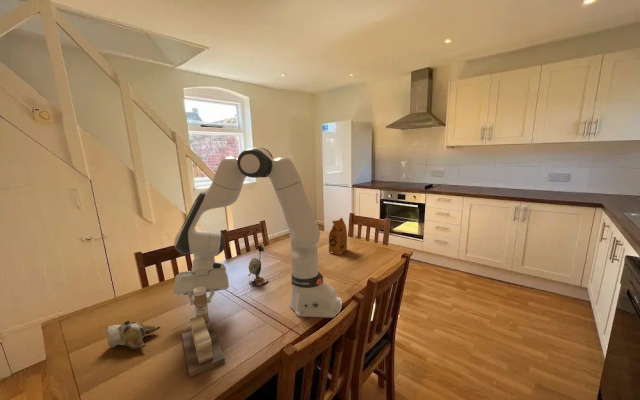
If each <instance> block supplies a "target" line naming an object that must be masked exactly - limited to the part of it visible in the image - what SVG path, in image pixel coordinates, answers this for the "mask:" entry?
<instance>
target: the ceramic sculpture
mask: <svg viewBox="0 0 640 400" xmlns="http://www.w3.org/2000/svg"><path fill="white" fill-rule="evenodd" d="M160 328H161V326H154V325H151V324H143V323H142V322H140V321H138V322H137V321H132V322H131V321H130V320H127V321H124V322H123V323H121V324H112V325H107V326H106V327H105V330H106V332H105V333H106V338H107V343H108V346H109V347H110V348H111V349H112V348H116V347H118V346H126V347H128V348H129V349H130V350H131V349H132V350H139V349H142V348H144V347H147V345H146V343H145V342H144V340H143V339H144V337H145V336H146V335H150V334H153V333H154V332H156V331H158V330H159V329H160Z"/></svg>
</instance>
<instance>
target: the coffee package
mask: <svg viewBox="0 0 640 400" xmlns="http://www.w3.org/2000/svg"><path fill="white" fill-rule="evenodd" d="M331 224H333V225H332V227H331V230H330V231H329V232H328V233H329V234H328V252H329V253H330V252H333V253H335V254H334V255H337V254H339V253H341V252H344V251H345V250H346V249H347V250H348V231H347V230H348V229H347V226H346V223H345V221H344V219H343V217H340V218H339V219H337V220H332V223H331ZM347 250H346V251H347ZM346 251H345V252H346ZM345 252H344V253H345ZM333 253H332V254H333ZM341 254H342V253H341Z"/></svg>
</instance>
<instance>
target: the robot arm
mask: <svg viewBox="0 0 640 400" xmlns="http://www.w3.org/2000/svg"><path fill="white" fill-rule="evenodd" d="M247 177H248V178H255V179H256V178H268V179H269V180H270V182H271V184H272V186H273V187H272V188H273V189H274V192H275V194H276V197H277V199H278V203H279V205H280V208H281V210H282V214H283V216H284V219H285V221H286V225H287V227H288V231H289V234H290V235H289V238H290V250H291V252H290V253H291V269H292V271H291V287H292V289H291V290H292V291H291V297H290V301H289V307H290V308H291V310H292V311H294V312H295V313H294V314H295V315H296V316H297V317H303V318H305V317H307V318H331V319H332V318H335V317H337V316H338V315H339V313H340V312H341V310H342V307H343V301H342V298H341V297H339V296H338V295H337V290H335V289H336V288H334V287H332V286H331V285H330V283H329V284H328V283H327V282H326V281H325V280H324V276H325V275H324V272H323V273H320V271H319V253H318V246H317V244H318V243H319V242H320V237H321V232H320V231H321V230H320V228H319V224H318V222H317V220H316V217H315V214H314V212H313V209H312V206H311V204H310V202H309V199H308V197H307V192H306V191H305V187H304V186H303V182H302V179H301V177H300V175H299V172H298V170H297V167H295V164H294V162H293V160H292V159H290V158H289V157H284V156H281V157H277V158H276V157H275V158H274V157H273V154H272V153H271V152H270V151H269V150H268V149H266V148H264V147H259V146H257V147H256V146H254V147H249V148H245V149H244V150H242V151H241V152H240V153H239V155H238V157H235V156H226V157H223V158H222V159H221V160H220V162H219V164H218V166H217V167H216V171H215V173H214V176H213V179H212V182H211V185H209V187H208V188H207V189H206V190H204V191H202V192H200V193H198V195H197V196H196V199H195V200H194V202H193V204H192V206H191V208H190V209H189V211H188V213H187V216H186V218H185V220H184V222H183V224H182V225H181V227H180V229H179V230H178V232H177V234H176V235H175V238H174V243H173V244H174V249H175V250H176V251H177V252H178V253H179V254H181V255H182V254H183V255H190V254H193V260H192V266H191V270H188V271H181V272H179V273H177V274H176V275H175V277H174V278H175V279H174V286H173V289H172V290H173V294H174V295H175V296H177V297H180V296H188V299H189V300H190V302H189V304H190V305H189V306H195V299H193V298H194V295H193V290H194V289H195V288H196V287H199V286H204V287H206V293H210V294H209V296H208V297H207V298H206V303H207V304H211V303H212V298H213V297H214V295H215V293H216V292H218V291H224V290H228V289H229V288H230V286H229V284H230V283H229V282H230V281H229V276H228V274H227V268H226V266H225V264H224V263H220V262H216V259H215V257H216V256H219V255H221V253H222V252H223V251H224V250H225V245H226V238H225V236H224V234H223V233H222V232H219V231H216V230H204V229H197V228H196V226H197V225H198V223H199V220H200V219H201V216H202V215H203V214H204V213H205V212H208V211H210V210H213V209H220V208H225V207H229V206H231V205H232V204H234V203H236V201H238V198H239V196H240V194H241V192H242V188H243V185H244V181H245V180H246V178H247ZM337 314H338V315H337ZM336 315H337V316H336Z"/></svg>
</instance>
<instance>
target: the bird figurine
mask: <svg viewBox="0 0 640 400" xmlns="http://www.w3.org/2000/svg"><path fill="white" fill-rule="evenodd" d="M256 247H257V249H258V252H259V253H258V254H259V255H261V253H262V252H263V253H265V251H264V250H265V247H263V245H262V244H258V245H257V246H256ZM248 270H249V274H248V277H250V275H251V274H252V275H255V278H254V279H253V280H254V281H253V280H251V281H250V282H249V283H248V284H249V285H253V286H255V285H257V286H262V285H263V284H265V283H268V282H269V280H268V279H267V280H266V279H265V278H264V277H262V276H260V273H261V271H262V261H261V256H259V259H258V258H255V257H253V258H251V260H250V262H249V264H248Z"/></svg>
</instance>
